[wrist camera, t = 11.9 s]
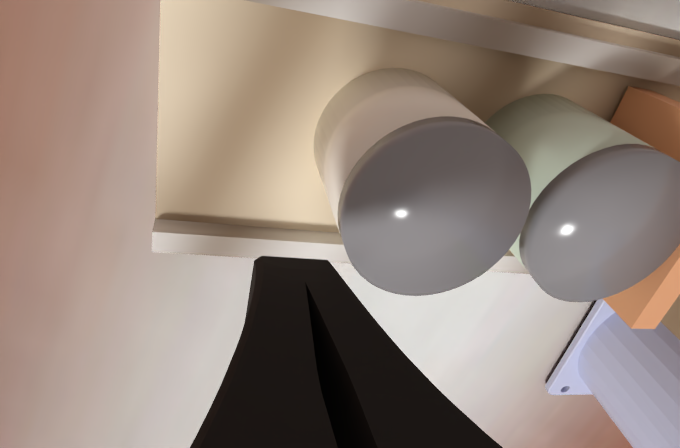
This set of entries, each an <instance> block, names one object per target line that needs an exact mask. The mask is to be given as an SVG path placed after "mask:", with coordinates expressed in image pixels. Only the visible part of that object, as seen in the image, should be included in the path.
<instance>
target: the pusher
mask: <svg viewBox="0 0 680 448" xmlns="http://www.w3.org/2000/svg"><path fill="white" fill-rule="evenodd" d="M610 123H611V124H613V125H615V126H617V127H619V128H620V129H622V130H624V131H626V132H627V133H629V134H631V135H633V136H635V137H636V138H638V139H640V140H642V141H643V142H645V143H647V144H649V145H650V146H652V147H654V148H656V149H658V150H659V151H661V152H663V153H665V154H666V155H668V156H670V157H672V158H673V159H675V160H677V161H679V162H680V102H677V101H675V100H673V99H671V98H668V97H666V96H664V95H661V94H659V93H657V92H654V91H652V90H648V89H642V88H637V87H632V86H628V88H627V90H626V92H625V94H624V96H623V98H622V100H621V102H620V104H619V106H618V108H617V110H616V112H615V114H614V116H613V118H612V120H611V122H610ZM679 295H680V244H679V246H678V247H677V248H676V250H675V251H674V252H673V253H672V254H671V256H670V257H669V258H668V259H667V260H666V261H665V262H664V263H663V264H662V265H661V266H660V267H658V268H657V269H656V270H655V271H654V272H652V273H651V274H650V275H649V276H647V277H646V278H645V279H643V280H641V281H640V282H638V283H637V284H635V285H633V286H632V287H630V288H628V289H626V290H624V291H622V292H620V293H618V294H615V295H612V296H609V297H606V298H603V300H604V301H605V302H606V303H607V304H608V305H609V306H610V307H611V308H612V309H613V310H614V311H615V312H616V313H617V314H618V315H619V317H620V318H621V319H622V320H623V321H624V322H625V323H626V324H627V325H628V326H629V327H630V328H631V329H655V328H656V327H657V325H658V324H659V323H660V321H661V320H662V318H663V317H664V316H665V314H666V313H667V311H668V310H669V309H670V307H671V306H672V304H673V303H674V302H675V300H676V299H677V297H678V296H679Z"/></svg>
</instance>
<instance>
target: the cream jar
mask: <svg viewBox="0 0 680 448" xmlns="http://www.w3.org/2000/svg"><path fill="white" fill-rule="evenodd" d="M313 148H314V157H315V162H316V166H317V169H318V171H319V174H320V177H321V180H322V183H323V186H324V189H325V192H326V195H327V198H328V201H329V204H330V206H331V209H332V212H333V215H334V218H335V221H336V224H337V227H338V230H339V233H340V236H341V238H342V241H343V244H344V247H345V250H346V253H347V255H348V258H349V260H350V262H351V263H352V265H353V266H354V268H355V269H356V270H357V272H358V273H359V274H360V275H361V276H362V277H363V278H364V279H366V280H367V281H368V282H370V283H371V284H373V285H374V286H376V287H378V288H380V289H383V290H385V291H388V292H392V293H395V294H401V295H411V296H421V295H431V294H437V293H441V292H445V291H449V290H452V289H454V288H457V287H460V286H462V285H464V284H466V283H468V282H470V281H472V280H474V279H475V278H477V277H479V276H480V275H482V274H483V273H485V272H486V271H487V270H489V269H490V268H491V267H492V266H494V265H495V264H496V263H497V262H498V261H499V260H500V259H501V258H502V257H503V256H504V255H505V254H506V253H507V252H508V250H509V249H510V248H511V246H512V245H513V244H514V243H515V241H516V239H517V238H518V236H519V234H520V233H521V231H522V229H523V226H524V224H525V222H526V219H527V216H528V213H529V208H530V203H531V181H530V177H529V173H528V170H527V167H526V165H525V163H524V161H523V159H522V158H521V156H520V155H519V153H518V152H517V151H516V150H515V149H514V148H513V147H512V146H511V145H510V144H509V143H508V142H507V141H505V140H504V139H503V138H502V137H501V136H499V135H498V134H497V133H496V132H495V131H494V130H492V129H491V128H490V127H489V126H488V125H486V124H485V123H484V122H483V121H482V120H480V119H479V118H478V117H477V116H476V115H474V114H473V113H472V112H471V111H470V110H469V109H467V108H466V107H465V106H464V105H463V104H461V103H460V102H459V101H458V100H457V99H455V98H454V97H453V96H452V95H451V94H450V93H448V92H447V91H446V90H445V89H444V88H442V87H441V86H440V85H439V84H438V83H436V82H435V81H434V80H432V79H431V78H430V77H428V76H426V75H424V74H422V73H420V72H417V71H414V70H410V69H404V68H386V69H379V70H375V71H371V72H369V73H366V74H363V75H361V76H359V77H357V78H355V79H354V80H352V81H350V82H349V83H348V84H346V85H345V86H343V87H342V88H341V89H340V90H339V91H338V92H337V93H336V94H335V95H334V96H333V97H332V99H331V100H330V101H329V102H328V104H327V105H326V107H325V108H324V110H323V112H322V114H321V116H320V118H319V120H318V123H317V126H316V130H315V135H314V147H313Z"/></svg>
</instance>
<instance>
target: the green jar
mask: <svg viewBox="0 0 680 448" xmlns="http://www.w3.org/2000/svg"><path fill="white" fill-rule="evenodd" d="M485 124H486V125H488V126H489V127H490V128H491V129H492V130H494V131H495V132H496V133H497V134H498V135H499V136H501V137H502V138H503V139H504V140H505V141H507V142H508V143H509V144H510V145H511V146H512V147H513V148H514V149H515V150H516V151H517V152H518V153H519V155H520V156H521V158H522V159H523V161H524V163H525V165H526V167H527V170H528V173H529V177H530V181H531V203H530V208H529V213H528V216H527V219H526V222H525V224H524V226H523V229H522V231H521V233H520V234H519V236H518V238H517V239H516V241H515V243H514V244H513V245H512V246H511V248H510V249H509V250H510V251H511V252H512V253H513V254H514V256H515V257H516V258H517V259H518V261H519V262H520V263H521V264H522V265H523V267H524V268H525V269H526V270H527V271H528V273H529V274H530V275H531V276H532V278H533V279H534V280H535V281H536V282H537V284H538V285H539V286H540V287H541V289H542V290H544V291H545V292H546V293H547V294H549V295H550V296H552V297H554V298H557V299H560V300H563V301H569V302H589V301H594V300H599V299H603V298H606V297H609V296H612V295H615V294H618V293H620V292H622V291H624V290H626V289H628V288H630V287H632V286H633V285H635V284H637V283H638V282H640V281H641V280H643V279H645V278H646V277H647V276H649V275H650V274H651V273H652V272H654V271H655V270H656V269H657V268H658V267H660V266H661V265H662V264H663V263H664V262H665V261H666V260H667V259H668V258H669V257H670V256H671V254H672V253H673V252H674V251H675V250H676V248H677V247H678V246H679V244H680V162H679V161H677V160H675V159H673V158H672V157H670V156H668V155H666V154H665V153H663V152H661V151H659V150H658V149H656V148H654V147H652V146H650V145H649V144H647V143H645V142H643V141H642V140H640V139H638V138H636V137H635V136H633V135H631V134H629V133H627V132H626V131H624V130H622V129H620V128H619V127H617V126H615V125H613V124H611V123H610V122H608V121H606V120H604V119H603V118H601V117H599V116H597V115H596V114H594V113H592V112H590V111H588V110H587V109H585V108H583V107H581V106H580V105H578V104H576V103H574V102H573V101H571V100H569V99H567V98H565V97H562V96H559V95H554V94H536V95H531V96H527V97H523V98H521V99H518V100H516V101H514V102H512V103H510V104H508V105H506V106H504V107H503V108H501V109H500V110H498V111H497V112H496V113H495V114H493V115H492V116H491V117H490V118H489V119H488V120H487V121H486V122H485Z"/></svg>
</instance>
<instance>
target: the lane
mask: <svg viewBox="0 0 680 448" xmlns="http://www.w3.org/2000/svg"><path fill="white" fill-rule="evenodd" d="M386 68H404V69H410V70H414V71H417V72H420V73H422V74H424V75H426V76H428V77H430V78H431V79H432V80H434V81H435V82H436V83H438V84H439V85H440V86H441V87H442V88H444V89H445V90H446V91H447V92H448V93H450V94H451V95H452V96H453V97H454V98H455V99H457V100H458V101H459V102H460V103H461V104H463V105H464V106H465V107H466V108H467V109H469V110H470V111H471V112H472V113H473V114H474V115H476V116H477V117H478V118H479V119H480V120H482V121H483V122H484V123H485V122H486V121H487V120H488V119H489V118H490V117H491V116H492V115H493V114H495V113H496V112H497V111H498V110H500V109H501V108H503V107H504V106H506V105H508V104H510V103H512V102H514V101H516V100H518V99H521V98H523V97H527V96H531V95H536V94H554V95H559V96H562V97H565V98H567V99H569V100H571V101H573V102H574V103H576V104H578V105H580V106H581V107H583V108H585V109H587V110H588V111H590V112H592V113H594V114H596V115H597V116H599V117H601V118H603V119H604V120H606V121H608V122H611V120H612V118H613V116H614V114H615V112H616V110H617V108H618V106H619V104H620V102H621V100H622V98H623V96H624V94H625V92H626V90H627V88H628V86H632V87H637V88H642V89H648V90H652V91H654V92H657V93H659V94H661V95H664V96H666V97H668V98H671V99H673V100H675V101H677V102H680V40H678V39H673V38H669V37H665V36H660V35H656V34H652V33H647V32H643V31H639V30H634V29H630V28H626V27H621V26H617V25H612V24H608V23H604V22H599V21H595V20H591V19H586V18H582V17H578V16H573V15H569V14H565V13H560V12H556V11H551V10H547V9H543V8H538V7H534V6H530V5H525V4H521V3H517V2H512V1H508V0H160V38H159V82H158V125H157V168H156V211H155V222H154V227H153V231H152V252H160V253H177V254H194V255H212V256H229V257H246V258H259V257H261V256H274V257H290V258H306V259H322V260H328V261H329V262H333V263H350V264H352V263H351V262H350V260H349V258H348V255H347V253H346V250H345V247H344V244H343V241H342V238H341V236H340V233H339V230H338V227H337V224H336V221H335V218H334V215H333V212H332V209H331V206H330V204H329V201H328V198H327V195H326V192H325V189H324V186H323V183H322V180H321V177H320V174H319V171H318V169H317V166H316V162H315V157H314V148H313V147H314V135H315V130H316V126H317V123H318V120H319V118H320V116H321V114H322V112H323V110H324V108H325V107H326V105H327V104H328V102H329V101H330V100H331V99H332V97H333V96H334V95H335V94H336V93H337V92H338V91H339V90H340V89H341V88H342V87H343V86H345V85H346V84H348V83H349V82H350V81H352V80H354V79H355V78H357V77H359V76H361V75H363V74H366V73H369V72H371V71H375V70H379V69H386ZM487 271H489V272H506V273H523V274H529V273H528V271H527V270H526V269H525V268H524V267H523V265H522V264H521V263H520V262H519V261H518V259H517V258H516V257H515V256H514V254H513V253H512V252H511V251H510V250H508V252H507V253H506V254H505V255H504V256H503V257H502V258H501V259H500V260H499V261H498V262H497V263H496V264H495V265H494V266H492V267H491V268H490V269H489V270H487ZM660 322H661V323H662V324H663V325H664V326H665V327H667V328H668V329H669V330H670V331H671V332H672V333H673V334H674V335H675V336H676V337H677V338H678V339H679V340H680V295H679V296H678V297H677V299H676V300H675V302H674V303H673V304H672V306H671V307H670V309H669V310H668V311H667V313H666V314H665V316H664V317H663V318H662V320H661V321H660Z"/></svg>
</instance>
